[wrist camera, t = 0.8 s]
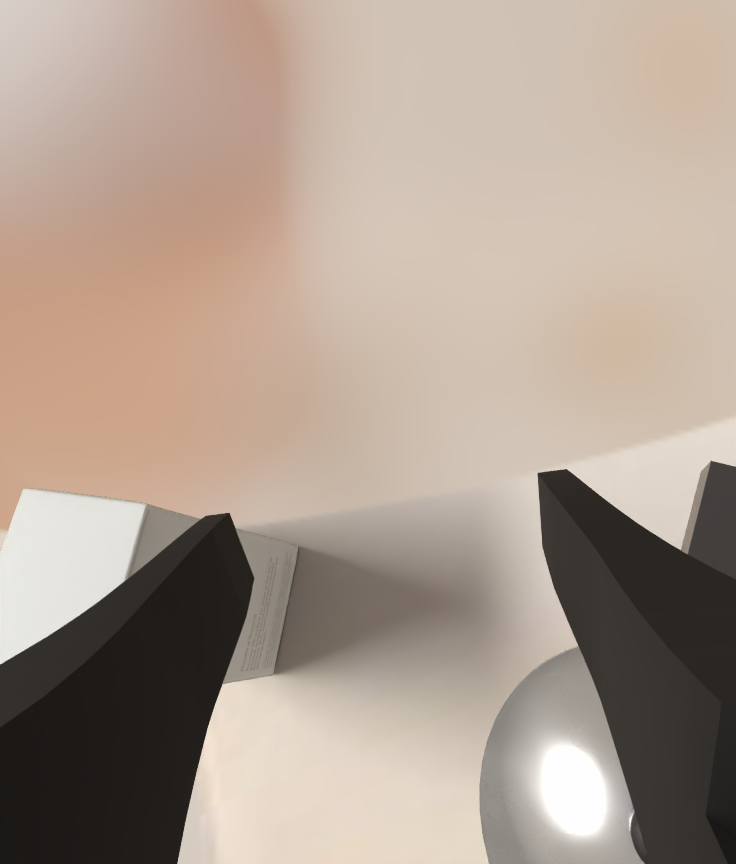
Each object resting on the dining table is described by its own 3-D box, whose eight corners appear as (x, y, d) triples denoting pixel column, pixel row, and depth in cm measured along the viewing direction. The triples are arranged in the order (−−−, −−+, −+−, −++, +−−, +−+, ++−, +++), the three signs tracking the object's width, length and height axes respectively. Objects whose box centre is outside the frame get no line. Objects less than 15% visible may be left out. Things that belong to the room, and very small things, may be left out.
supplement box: (302, 544, 31) (152, 501, 20) (274, 678, 29) (89, 717, 17) (202, 528, 33) (20, 482, 22) (170, 649, 31) (-48, 666, 20)
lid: (836, 1169, 14) (871, 1239, 12) (440, 899, 19) (429, 924, 17) (935, 530, 18) (972, 521, 16) (580, 441, 23) (581, 428, 21)
